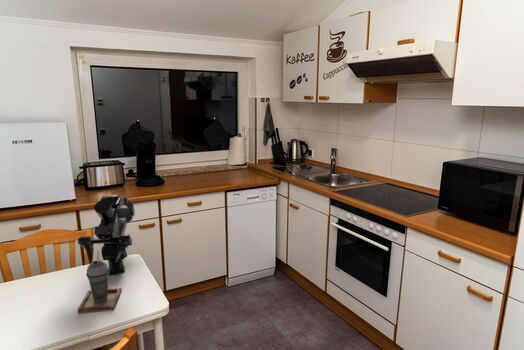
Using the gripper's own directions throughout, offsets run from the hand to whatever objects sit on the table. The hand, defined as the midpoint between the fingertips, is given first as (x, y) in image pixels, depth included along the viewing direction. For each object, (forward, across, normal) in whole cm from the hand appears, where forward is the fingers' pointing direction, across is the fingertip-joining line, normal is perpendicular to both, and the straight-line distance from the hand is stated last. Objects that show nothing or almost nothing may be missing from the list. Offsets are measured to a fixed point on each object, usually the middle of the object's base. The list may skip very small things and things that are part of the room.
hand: (102, 262), depth 135 cm
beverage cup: (+13, 0, +4) cm, 14 cm away
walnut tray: (+14, 0, +4) cm, 14 cm away
